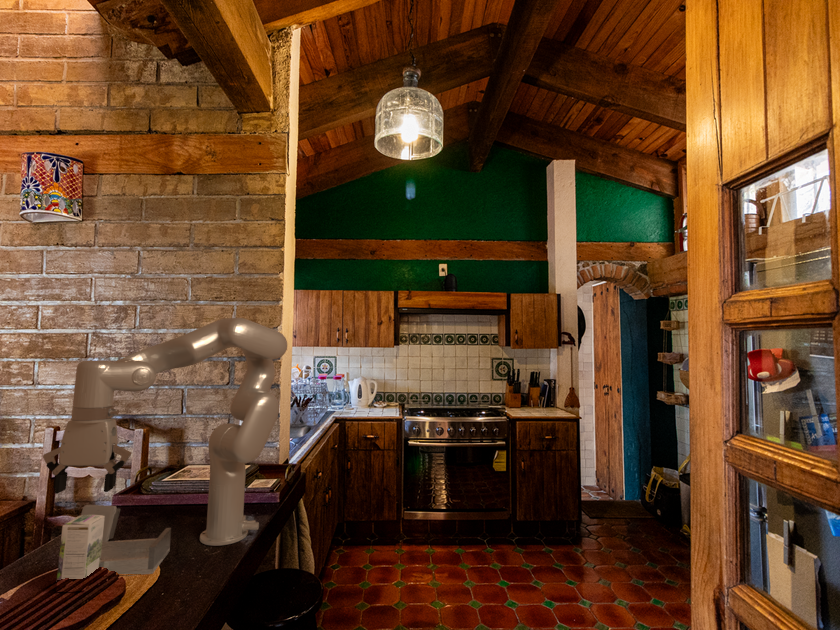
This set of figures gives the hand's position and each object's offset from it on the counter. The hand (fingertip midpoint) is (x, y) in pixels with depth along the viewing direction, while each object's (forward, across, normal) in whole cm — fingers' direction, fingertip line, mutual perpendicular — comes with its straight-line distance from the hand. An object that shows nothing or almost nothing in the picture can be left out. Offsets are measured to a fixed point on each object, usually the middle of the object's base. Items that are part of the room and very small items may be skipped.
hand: (84, 491), depth 100 cm
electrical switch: (+21, +8, -26) cm, 34 cm away
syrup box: (+21, 0, 0) cm, 21 cm away
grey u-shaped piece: (+20, -6, -9) cm, 23 cm away
